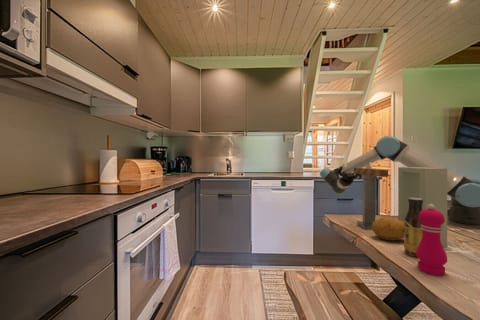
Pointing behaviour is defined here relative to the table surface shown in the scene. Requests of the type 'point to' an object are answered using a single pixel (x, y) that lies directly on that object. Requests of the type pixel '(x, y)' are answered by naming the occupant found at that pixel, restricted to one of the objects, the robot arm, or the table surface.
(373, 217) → the ridge pillar
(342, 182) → the robot arm
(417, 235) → the sauce bottle
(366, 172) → the walnut bar
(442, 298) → the table surface
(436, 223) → the pepper mill
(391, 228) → the potato
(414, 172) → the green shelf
